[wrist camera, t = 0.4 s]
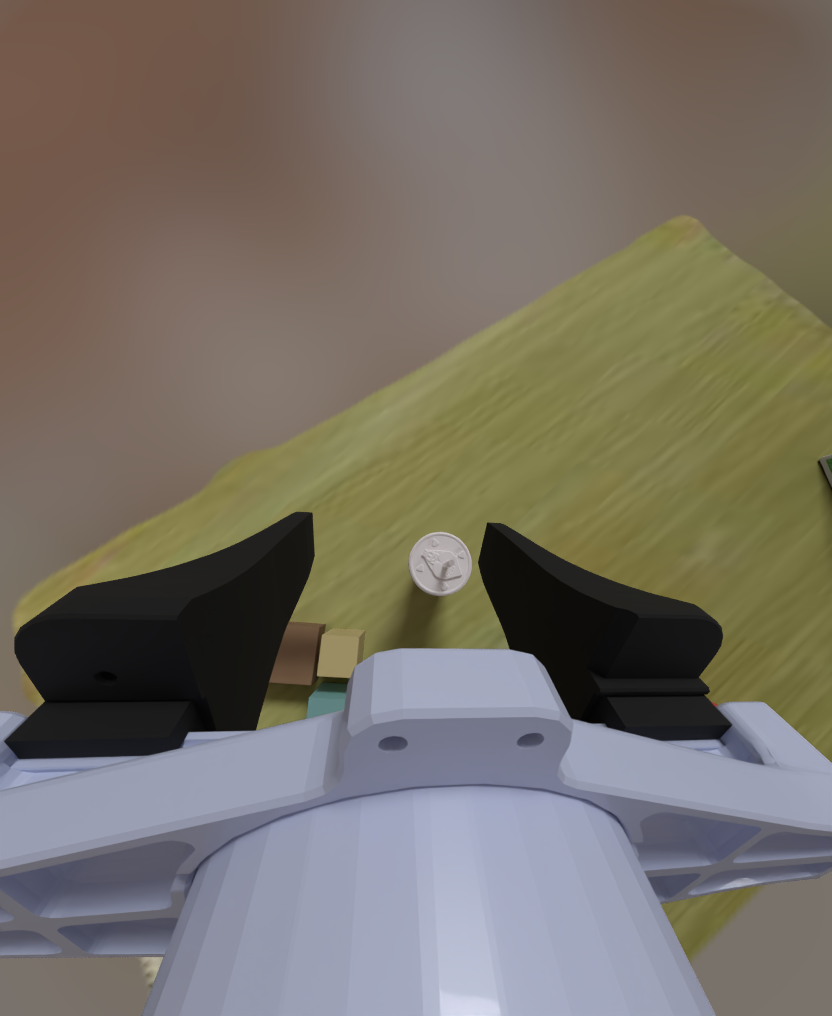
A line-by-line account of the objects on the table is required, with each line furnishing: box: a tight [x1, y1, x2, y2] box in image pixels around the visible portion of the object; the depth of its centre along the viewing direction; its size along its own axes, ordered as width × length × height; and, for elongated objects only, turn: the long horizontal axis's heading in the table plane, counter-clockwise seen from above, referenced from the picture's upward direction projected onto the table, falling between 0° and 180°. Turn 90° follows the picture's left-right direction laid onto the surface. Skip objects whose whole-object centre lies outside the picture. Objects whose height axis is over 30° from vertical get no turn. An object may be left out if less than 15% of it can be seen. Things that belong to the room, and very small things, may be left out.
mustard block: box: [317, 629, 365, 678], centre depth 34 cm, size 4×4×5 cm
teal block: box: [306, 682, 348, 719], centre depth 32 cm, size 4×4×5 cm
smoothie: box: [408, 532, 472, 596], centre depth 32 cm, size 6×6×14 cm
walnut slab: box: [269, 622, 326, 685], centre depth 35 cm, size 6×6×3 cm
